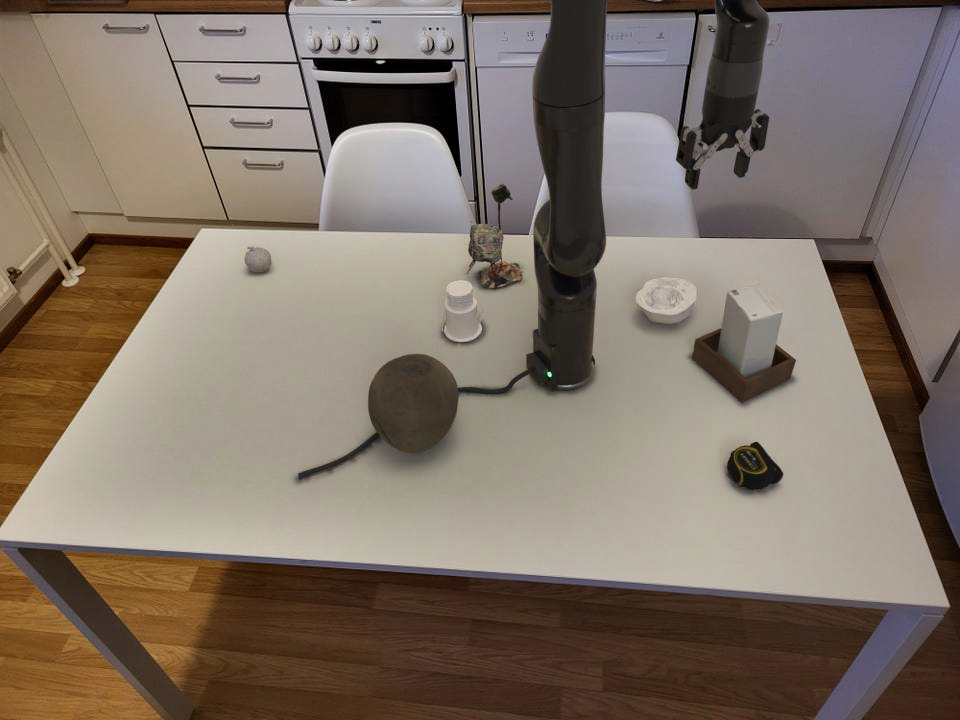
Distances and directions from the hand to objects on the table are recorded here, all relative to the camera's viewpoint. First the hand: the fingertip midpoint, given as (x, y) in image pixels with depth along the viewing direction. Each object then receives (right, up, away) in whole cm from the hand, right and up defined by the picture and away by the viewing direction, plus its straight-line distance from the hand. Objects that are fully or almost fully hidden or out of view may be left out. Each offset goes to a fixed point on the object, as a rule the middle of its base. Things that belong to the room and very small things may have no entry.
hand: (715, 181), depth 124 cm
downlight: (-41, -23, +20) cm, 51 cm away
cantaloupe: (-48, -41, +1) cm, 63 cm away
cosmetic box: (+7, -30, +9) cm, 32 cm away
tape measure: (+3, -46, -8) cm, 47 cm away
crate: (+7, -30, +9) cm, 32 cm away
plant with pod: (-35, -12, +31) cm, 48 cm away
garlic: (-84, -10, +37) cm, 92 cm away
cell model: (-4, -21, +20) cm, 29 cm away
